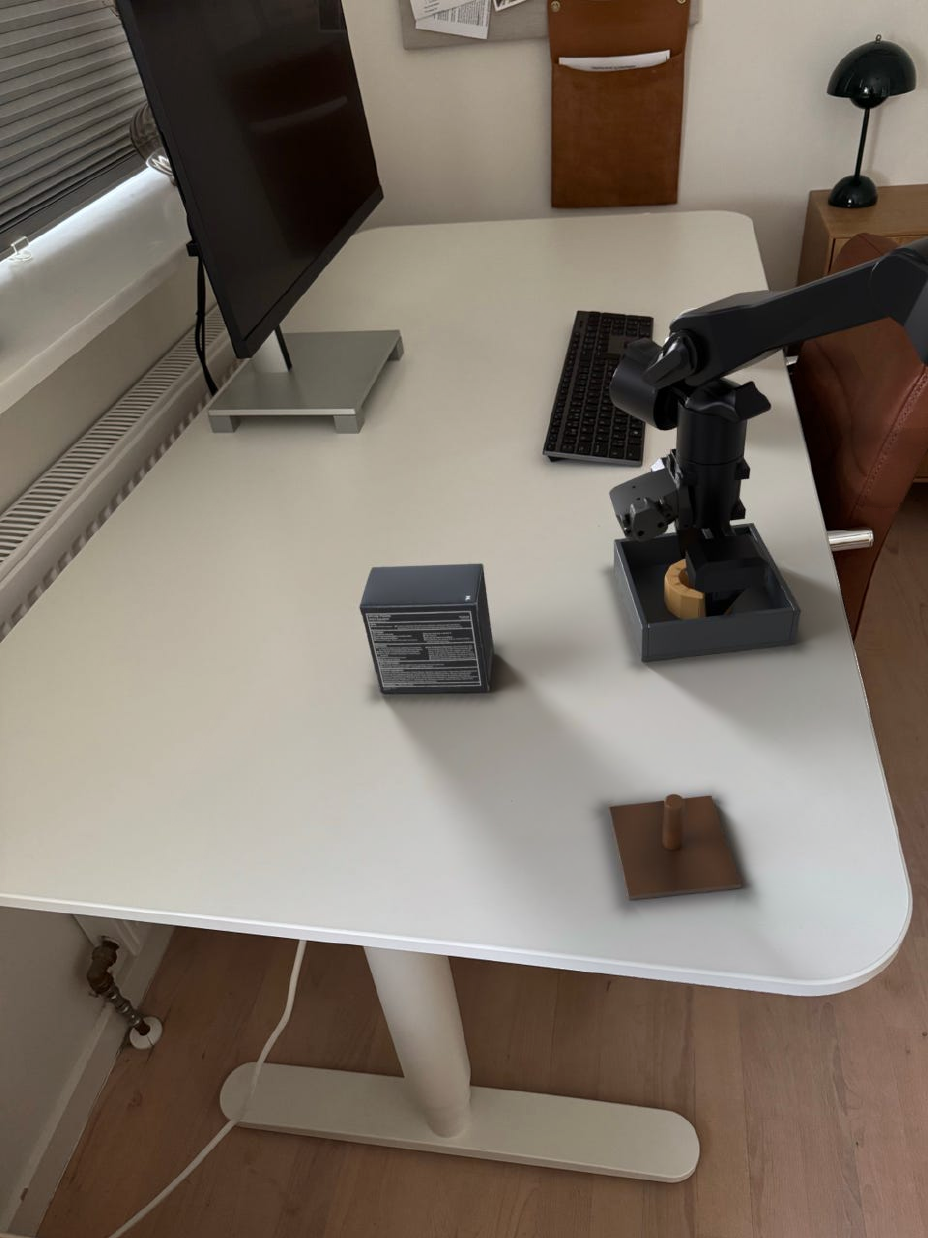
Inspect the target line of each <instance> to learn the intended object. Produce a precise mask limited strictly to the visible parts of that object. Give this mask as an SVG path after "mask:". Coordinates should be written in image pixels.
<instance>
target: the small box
mask: <svg viewBox="0 0 928 1238" xmlns="http://www.w3.org/2000/svg"><path fill="white" fill-rule="evenodd" d="M484 569H485V567H484V564H483V563H455V564H429V565H428V564H427V565H424V564H423V565H398V566H397V565H395V566H373V567H371V569H370V572H369V573H368V577H367V580H366V583H365V586H364V589H363V593H362V596H361V599H360V603H359V606H358V608H359V611H360V615H361V616H362V622H363V624H364V628H365V629H364V630H365V633H366V638H367V642H368V646H369V650H370V655H371V659H372V662H373V666H374V672H375V675H376V679H377V684H378V692H379V693H380V694H423V693H428V694H431V693H433V694H434V693H435V694H436V693H439V694H440V693H489V691H490V690H491V689H492V684H491V681H492V673H493V672H492V671H493V663H494V661H495V647H494V640H493V632H492V624H491V617H490V609H489V602H488V601H489V600H488V594H487V585H486V577H485V570H484Z"/></svg>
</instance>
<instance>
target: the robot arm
mask: <svg viewBox="0 0 928 1238" xmlns="http://www.w3.org/2000/svg"><path fill="white" fill-rule="evenodd" d="M696 308H697V309H694V310H692V311H689V312H687V313H684V314H681V315H679V314H678V315H679V316H678V315H677V316H675V317H674V318H673V319H672V320H671V322H670V323H669V326H668V329H669V333H668V337H669V338H668V337H667V338H668V340H667V341H666V340H665V341H666V342H665V341H664V343H663V345H659V344H658V343H657V342H655V341H654V340H653V339H650V338H648V337H646V336H645V337H643V338H640V339H637V340H635V341H632V342H629V343H627V355H626V356H625V357H624V358H623V359H622V360H621V361H620V363H619V364H618V365H617V368H616V369H615V371H614V374H613V375H612V379H611V382H610V383H609V386H608V392H609V398H610V400H611V403H612V404H613V405H614V406H615V407H616V408H617V409H619V410H621V411H623V412H625V413H626V414H629V415H630V416H633V417H634V418H636V419H638V420H640V421H642V422H644V423H645V424H648V425H650V427H651V426H652V427H653V428H655V429H657V430H659V431H664V432H667V431H671V430H674V429H676V441H675V448H670V449H669V453H667V454H666V456H663V457H659V458H658V459H657V460H656V461H655V462H654V463H653V465H651V466H650V471H648V472H645V473H643V474H641V475H638V476H636V477H634V478H631V479H628V480H626V481H625V482H622V483H620V484H617V485H616V486H613V487H612V488H611V489H610V490H609V492H608V498H609V501H610V504H611V508H612V511H613V513H614V515H615V517H616V520H617V522H618V524H619V527H620V528H621V531H622V533H623V535H624V538H626V539H627V540H629V541H636V540H638V541H642V542H644V541H647V540H649V539H651V538H654V537H656V536H659V535H661V534H664V533H667V531H668V529H669V526H670V525H671V524H673V526H674V527H673V528H674V532H676V536H677V541H678V545H679V550H680V554H681V559H682V560H683V559H685V561H686V568H685V570H686V573H687V575H688V578H689V580H690V583H691V585H692V587H693V588H694V590H696V591H698V592H701V593H702V597H703V605H704V612H705V617H712V616H720V615H724V613H725V612H726V611H727V610H728V609H729V607H730V606H731V605H732V604H733V603H734V601H735V600H736V599H737V598H738V597H739V596H740V595H741V593H742V592H743V591H745V590H746V589H747V588H752V587H761V586H764V585H765V584H766V583H767V582H768V575H769V568H770V563H769V561H768V559H767V558H766V556H765V554H764V552H763V550H762V548H761V546H760V545H759V543H758V541H757V540H755V539H754V538H753V537H752V536H750V535H749V534H743V535H736V534H735V532H734V530H733V528H732V526H731V525H732V524H731V522H733V521H739V520H740V521H741V520H745V519H746V513H747V509H746V507H745V505H744V503H743V501H742V500H741V491H742V490H741V488H742V481H743V480H750V476H751V467H750V465H749V463H748V462H747V460H746V458H745V449H746V441H747V431H748V421H749V420H750V419H751V420H752V419H754V418H755V417H757V416H760V415H762V414H764V413H766V412H769V411H770V410H771V409H772V404H771V402H770V400H769V399H768V397H767V395H765V394H763V393H762V392H761V391H760V390H759V389H758V388H757V385H756V383H755V382H754V381H753V380H749V381H747V382H744V383H743V384H740V383H738V382H735V381H733V380H731V379H728V378H726V377H727V376H729V375H732V374H735V373H737V372H739V371H742V370H744V369H746V368H749V367H751V366H753V365H756V364H759V363H760V362H762V361H764V360H766V359H768V358H769V357H772V356H773V355H774V354H777V353H779V352H780V351H782V350H784V349H785V348H787V347H790V346H792V345H796V344H800V343H804V342H807V341H810V340H815V339H817V338H818V339H819V338H820V337H824V336H829V335H831V334H835V333H838V332H843V331H846V330H849V329H854V328H857V327H860V326H864V325H868V324H870V323H875V322H878V321H882V320H884V319H889V318H890V319H891V320H893V321H894V322H896V323H897V324H898V325H899V326H901V327H903V329H904V330H905V333H906V335H907V337H908V339H909V341H910V342H911V344H912V346H913V348H914V350H915V351H916V353H917V356H918V357H919V360H920V361H921V362H922V363H923V364H924V365H925V367H927V368H928V235H927V236H924V237H922V238H919V239H917V240H914V241H911V242H908V243H906V244H903V245H901V246H898V247H896V248H893V249H891V250H889V251H887V252H886V253H885V254H884V255H882V256H880V257H878V258H875V259H872V260H869V261H867V262H863V263H861V264H858V265H856V266H852V267H850V268H846V269H844V270H841V271H838V272H835V273H833V274H831V275H828V276H824V277H822V278H819V279H816V280H813V281H810V282H808V283H806V284H802V285H799V286H796V287H793V288H791V289H788V290H780V291H773V290H768V289H763V290H755V291H754V290H753V291H746V292H739V293H734V294H733V295H729V296H726V297H724V298H721V299H719V300H716V301H713V302H710V303H708V304H704V305H703V306H700V308H698V307H696ZM705 538H706V539H705Z"/></svg>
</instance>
